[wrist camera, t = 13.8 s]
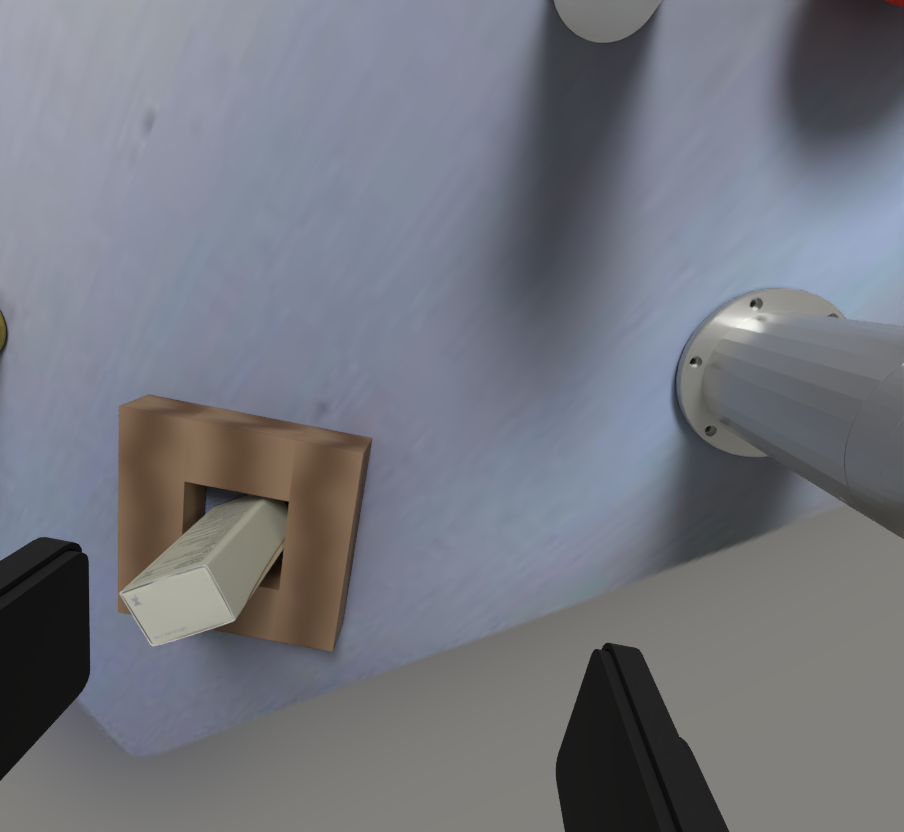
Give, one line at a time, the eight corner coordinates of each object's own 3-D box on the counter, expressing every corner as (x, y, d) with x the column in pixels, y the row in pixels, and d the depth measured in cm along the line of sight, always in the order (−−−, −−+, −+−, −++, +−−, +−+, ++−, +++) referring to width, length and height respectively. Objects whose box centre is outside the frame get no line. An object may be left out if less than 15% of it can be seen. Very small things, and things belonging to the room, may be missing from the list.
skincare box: (235, 548, 43) (149, 650, 32) (211, 504, 42) (113, 593, 31) (300, 527, 43) (237, 624, 31) (278, 482, 42) (204, 565, 30)
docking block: (372, 438, 40) (363, 453, 37) (342, 623, 45) (332, 651, 42) (148, 394, 40) (118, 406, 36) (144, 586, 45) (117, 612, 41)
